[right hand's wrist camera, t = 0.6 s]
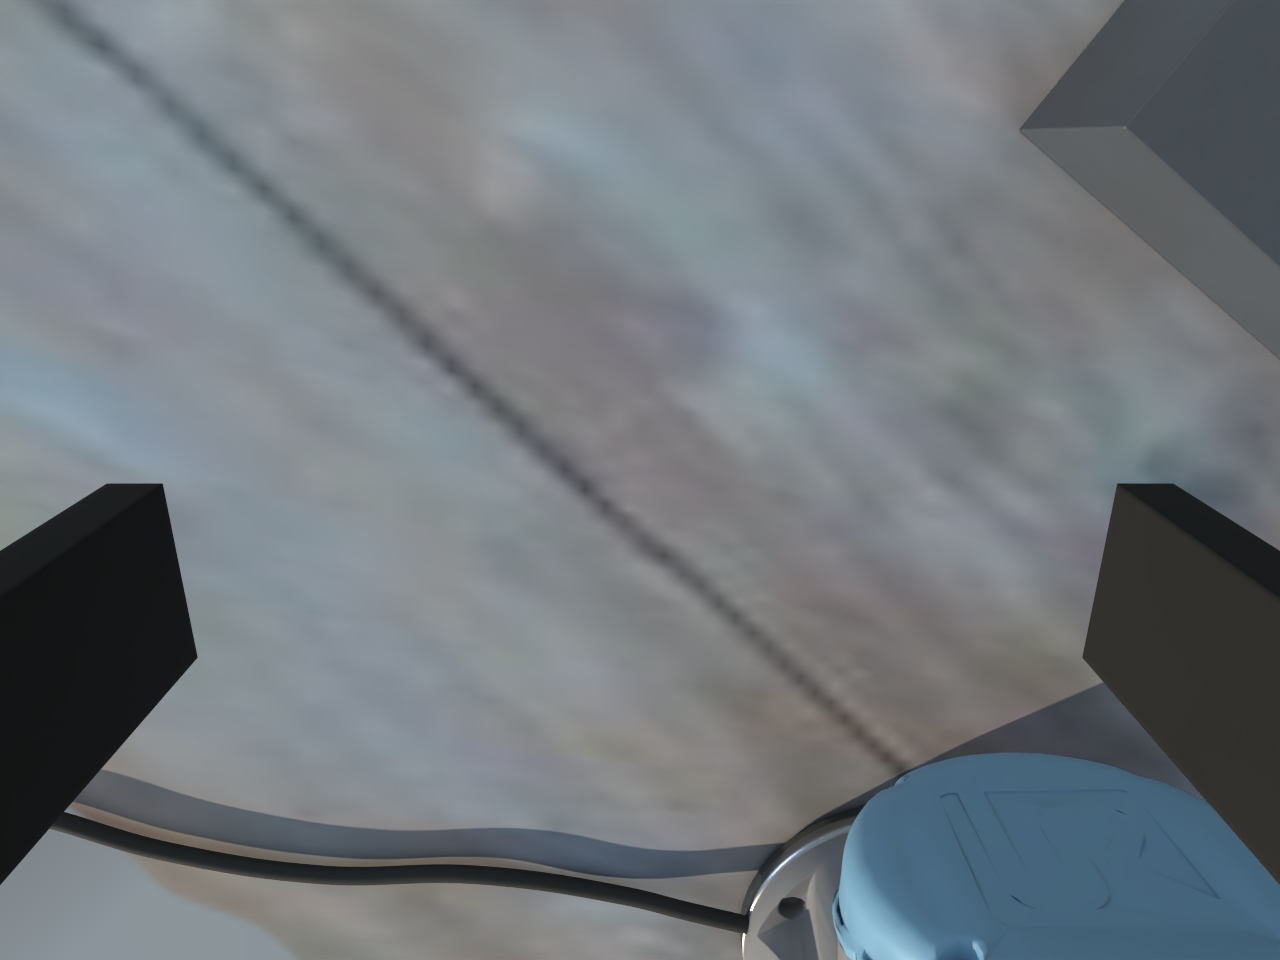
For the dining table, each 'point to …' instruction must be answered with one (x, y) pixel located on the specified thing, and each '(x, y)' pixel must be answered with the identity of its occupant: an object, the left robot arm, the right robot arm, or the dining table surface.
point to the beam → (1183, 142)
